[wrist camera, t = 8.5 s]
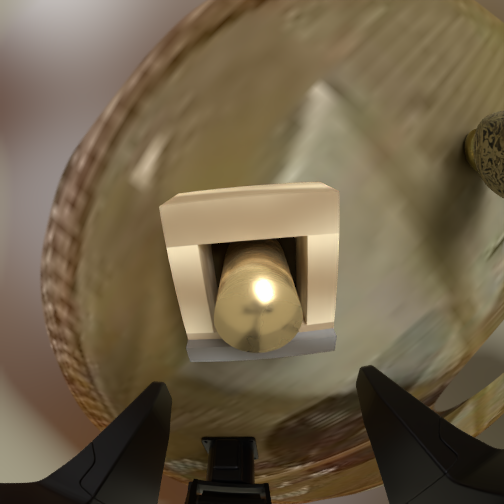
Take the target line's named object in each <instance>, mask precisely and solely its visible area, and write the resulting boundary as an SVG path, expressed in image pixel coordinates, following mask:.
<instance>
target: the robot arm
mask: <svg viewBox="0 0 504 504" xmlns="http://www.w3.org/2000/svg"><path fill="white" fill-rule="evenodd" d="M356 388H357V393H358V397H359V402H360V406H361V411H362V416H363V420H364V424H365V428H366V430H367V433H368V436H369V439H370V442H371V445H372V448H373V451H374V454H375V458H376V461H377V464H378V467H379V470H380V473H381V477H382V480H383V483H384V487H385V490H386V493H387V497H388V500H389V504H504V449H497V448H494V447H492V446H489V445H487V444H485V443H484V442H481V441H480V440H478V439H476V438H474V437H472V436H470V435H468V434H467V433H465V432H463V431H462V430H460V429H458V428H457V427H455V426H454V425H452V424H451V423H449V422H448V421H446V420H445V419H444V418H442V417H440V416H439V415H438V414H437V413H435V412H434V411H433V410H431V409H430V408H429V407H427V406H426V405H424V404H423V403H422V402H420V401H419V400H418V399H416V398H415V397H414V396H412V395H411V394H410V393H408V392H407V391H406V390H404V389H403V388H402V387H400V386H399V385H398V384H396V383H395V382H394V381H392V380H391V379H390V378H388V377H387V376H386V375H384V374H383V373H382V372H380V371H379V370H378V369H376V368H375V367H374V366H372V365H368V366H363V367H361V368H360V370H359V373H358V377H357V381H356ZM171 405H172V398H171V395H170V393H169V391H168V388H167V386H166V384H165V383H164V382H152V383H151V384H150V385H149V386H148V387H147V388H146V389H145V390H144V391H143V392H142V393H141V394H140V395H139V396H138V397H137V398H136V399H135V400H134V401H133V402H132V403H131V404H130V405H129V406H128V407H127V408H126V409H125V410H124V411H123V412H122V413H121V414H120V415H119V416H118V417H117V418H116V419H115V420H114V421H113V422H111V423H110V424H109V425H108V426H107V427H106V428H105V429H104V430H103V431H102V432H101V433H100V434H99V435H98V436H97V437H96V438H95V439H94V440H93V441H92V442H91V443H90V444H89V445H88V446H86V447H85V448H84V449H83V450H82V451H81V452H80V453H79V454H77V455H76V456H75V457H74V458H73V459H71V460H70V461H69V462H67V463H66V464H65V465H63V466H62V467H61V468H59V469H58V470H56V471H55V472H53V473H52V474H51V475H49V476H48V477H46V478H44V479H42V480H40V481H37V482H30V483H0V504H157V503H158V496H159V491H160V485H161V479H162V473H163V468H164V462H165V457H166V451H167V446H168V440H169V432H170V418H171ZM202 443H203V445H204V447H205V449H206V451H207V453H208V454H209V456H208V466H207V478H206V481H203V480H198V479H194V480H193V482H189V485H188V493H187V497H186V501H185V504H272V503H271V497H270V490H269V484H268V483H264V484H255V481H254V460H255V459H258V452H257V446H256V441H255V438H253V437H244V438H202ZM200 493H202V495H200Z"/></svg>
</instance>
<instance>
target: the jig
mask: <svg viewBox="0 0 504 504" xmlns="http://www.w3.org/2000/svg"><path fill="white" fill-rule="evenodd" d="M159 209H160V215H161V221H162V226H163V232H164V237H165V243H166V248H167V253H168V258H169V263H170V267H171V272H172V277H173V281H174V285H175V290H176V294H177V298H178V302H179V306H180V310H181V314H182V318H183V322H184V326H185V330H186V333H187V337H188V343H187V346H186V350H187V353H188V356H189V359H190V362H217V361H240V360H256V359H269V358H279V357H289V356H298V355H306V354H314V353H321V352H328V351H334V350H335V345H336V337H337V335H336V333H335V331H334V329H333V326H334V316H335V304H336V291H337V275H338V253H339V191H338V190H336V189H333V188H331V187H329V186H327V185H325V184H323V183H321V182H301V183H284V184H269V185H256V186H244V187H233V188H223V189H214V190H205V191H196V192H188V193H180V194H177V195H176V196H174V197H173V198H171V199H170V200H168V201H167V202H165V203H164V204H162V205H161V206H159ZM283 237H295V238H296V286H297V294H298V297H299V301H300V304H301V307H302V311H303V320H302V324H301V327H300V329H299V331H298V333H297V334H296V336H295V337H294V338H293V339H292V340H291V341H290V342H289V343H287V344H286V345H284V346H283V347H281V348H278V349H276V350H273V351H269V352H263V353H250V352H245V351H241V350H239V349H236V348H234V347H232V346H230V345H229V344H228V343H226V342H225V341H224V340H223V339H222V338H221V337H220V335H219V334H218V332H217V330H216V328H215V324H214V311H215V306H216V300H217V295H218V287H217V281H216V275H215V268H214V261H213V254H212V248H211V244H212V243H224V242H235V241H247V240H259V239H271V238H283Z"/></svg>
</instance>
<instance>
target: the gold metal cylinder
mask: <svg viewBox="0 0 504 504" xmlns="http://www.w3.org/2000/svg"><path fill="white" fill-rule="evenodd" d="M302 320H303V311H302V307H301V304H300V301H299V297H298V294H297V291H296V288H295V285H294V282H293V279H292V276H291V273H290V270H289V267H288V264H287V261H286V258H285V255H284V252H283V249H282V247H281V245H280V243H279V242H278V241H277V240H276V239H275V238H271V239H259V240H247V241H235V242H231V243H230V244H229V246H228V248H227V251H226V255H225V260H224V265H223V270H222V275H221V280H220V285H219V290H218V295H217V300H216V306H215V311H214V324H215V328H216V330H217V332H218V334H219V335H220V337H221V338H222V339H223V340H224V341H225V342H226V343H228V344H229V345H230V346H232V347H234V348H236V349H239V350H241V351H245V352H250V353H263V352H269V351H273V350H276V349H278V348H281V347H283V346H284V345H286V344H287V343H289V342H290V341H291V340H292V339H293V338H294V337H295V336H296V334H297V333H298V331H299V329H300V327H301V324H302Z"/></svg>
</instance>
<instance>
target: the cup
mask: <svg viewBox="0 0 504 504" xmlns="http://www.w3.org/2000/svg"><path fill="white" fill-rule="evenodd" d="M465 155H466V159H467V161H468V163H469V164H470V166H471V167H472V168H473V169H474V170H475V171H477V172H479V174H480V176H481V178H482V180H483V181H484V182H485V184H486V185H487V186H488V187H489V188H490V189H491V190H492V191H493V192H495V193H496V194H497V195H499V196H500V197H502V198H504V111H500V112H496V113H493V114H491V115H489V116H487V117H486V118H484V119H483V120H482V121H481V122H480V124H479V125H478V127H477V129H474V130H472V131H471V132H470V133H469V134H468V135H467V137H466V140H465Z"/></svg>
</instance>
